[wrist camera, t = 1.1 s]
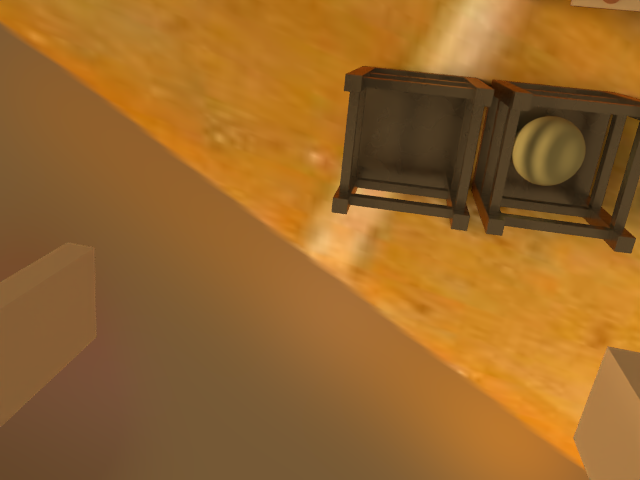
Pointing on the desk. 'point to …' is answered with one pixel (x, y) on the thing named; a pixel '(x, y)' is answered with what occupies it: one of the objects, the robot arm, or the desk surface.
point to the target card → (609, 4)
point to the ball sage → (548, 150)
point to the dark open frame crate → (573, 194)
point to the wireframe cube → (411, 140)
